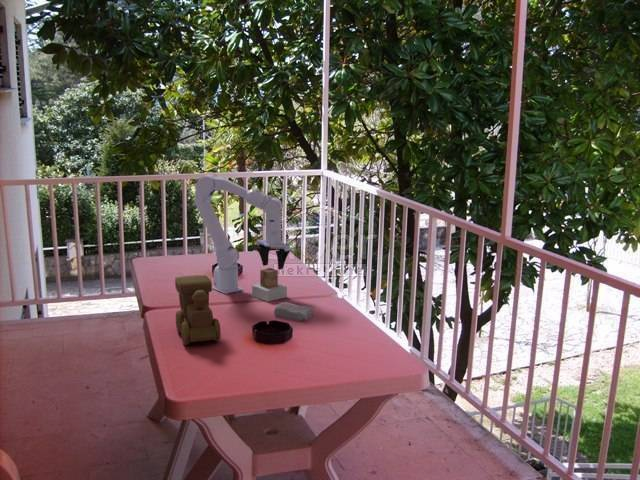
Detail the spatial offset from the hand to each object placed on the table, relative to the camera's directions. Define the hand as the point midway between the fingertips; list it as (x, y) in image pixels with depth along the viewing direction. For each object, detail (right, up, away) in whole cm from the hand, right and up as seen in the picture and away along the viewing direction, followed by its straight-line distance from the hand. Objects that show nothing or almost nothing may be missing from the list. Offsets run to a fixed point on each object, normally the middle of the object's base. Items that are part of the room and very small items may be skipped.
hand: (273, 266), depth 246 cm
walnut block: (-1, -7, -4) cm, 8 cm away
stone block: (+9, -16, -22) cm, 29 cm away
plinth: (-1, -11, -3) cm, 11 cm away
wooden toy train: (-20, -20, -43) cm, 51 cm away
